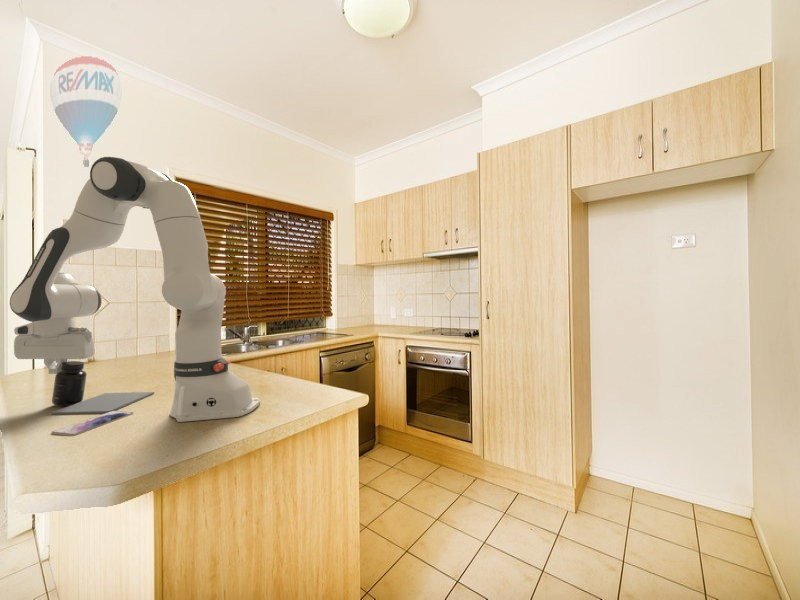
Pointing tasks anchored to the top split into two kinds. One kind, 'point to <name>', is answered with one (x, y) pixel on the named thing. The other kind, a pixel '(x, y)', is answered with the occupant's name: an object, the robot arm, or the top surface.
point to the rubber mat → (103, 403)
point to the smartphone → (91, 423)
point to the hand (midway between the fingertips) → (56, 373)
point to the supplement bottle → (69, 384)
